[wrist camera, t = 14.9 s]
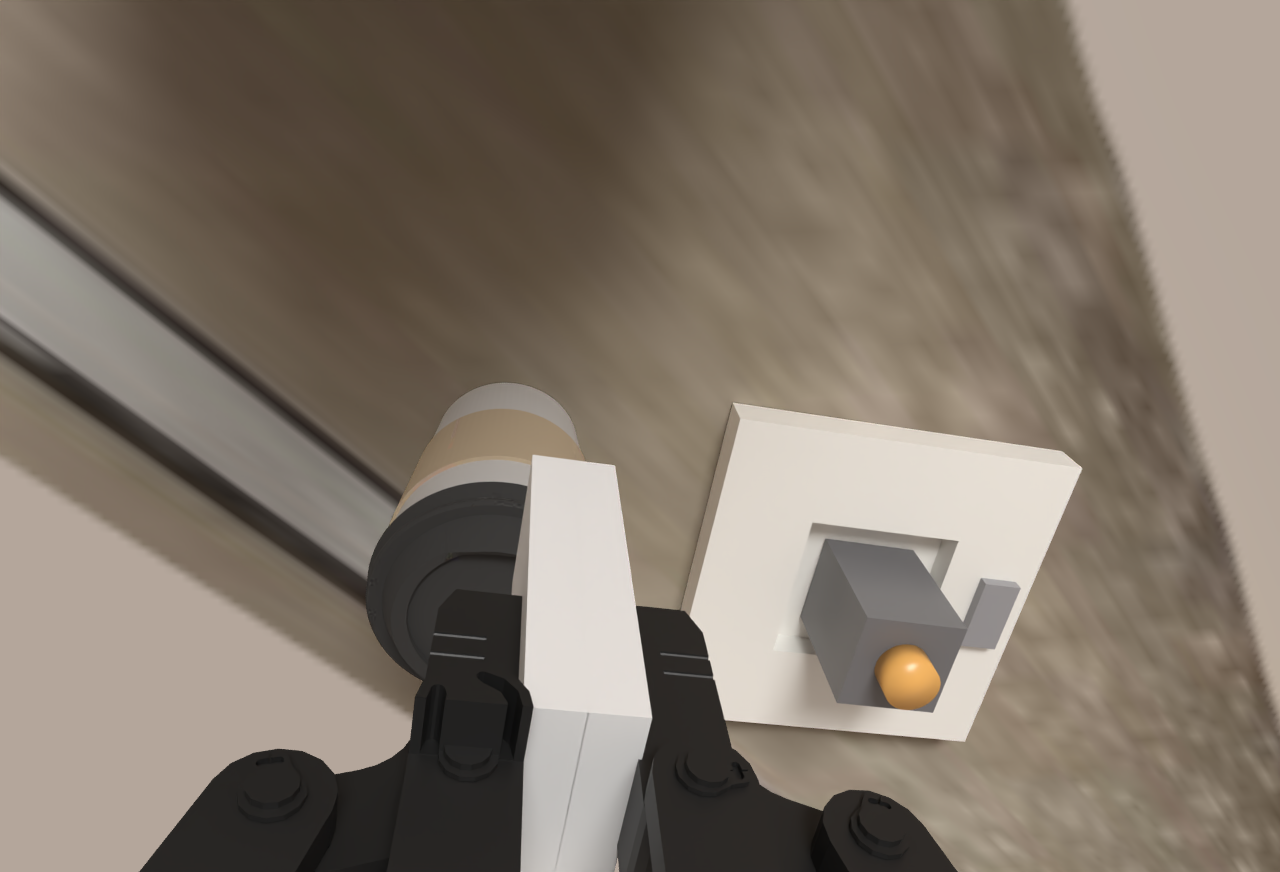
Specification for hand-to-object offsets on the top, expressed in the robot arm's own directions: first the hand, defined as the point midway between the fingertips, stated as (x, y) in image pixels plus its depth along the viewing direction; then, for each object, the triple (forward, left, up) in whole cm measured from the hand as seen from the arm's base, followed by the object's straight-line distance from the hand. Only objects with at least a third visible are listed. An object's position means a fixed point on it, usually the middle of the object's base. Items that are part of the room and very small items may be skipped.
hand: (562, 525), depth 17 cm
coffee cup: (+11, -1, -27) cm, 29 cm away
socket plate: (+16, +19, -26) cm, 36 cm away
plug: (+16, +19, -26) cm, 36 cm away
